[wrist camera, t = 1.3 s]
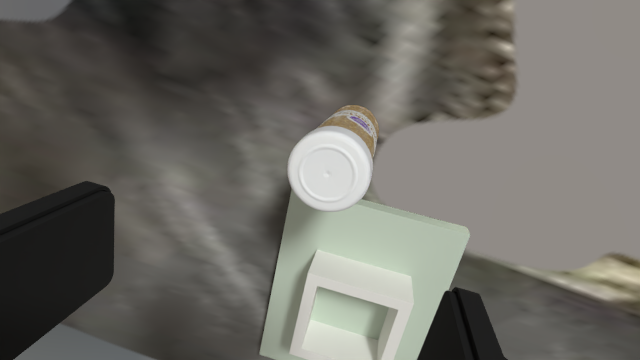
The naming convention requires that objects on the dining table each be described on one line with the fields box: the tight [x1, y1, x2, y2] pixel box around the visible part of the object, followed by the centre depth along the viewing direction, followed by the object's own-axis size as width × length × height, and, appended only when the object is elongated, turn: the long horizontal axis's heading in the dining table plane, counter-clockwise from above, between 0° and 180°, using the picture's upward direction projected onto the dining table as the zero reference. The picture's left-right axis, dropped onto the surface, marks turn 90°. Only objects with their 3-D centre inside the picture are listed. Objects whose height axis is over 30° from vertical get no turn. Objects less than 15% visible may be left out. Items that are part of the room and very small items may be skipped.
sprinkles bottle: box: [287, 105, 379, 212], centre depth 25 cm, size 5×5×13 cm
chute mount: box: [259, 189, 470, 360], centre depth 34 cm, size 20×16×6 cm
